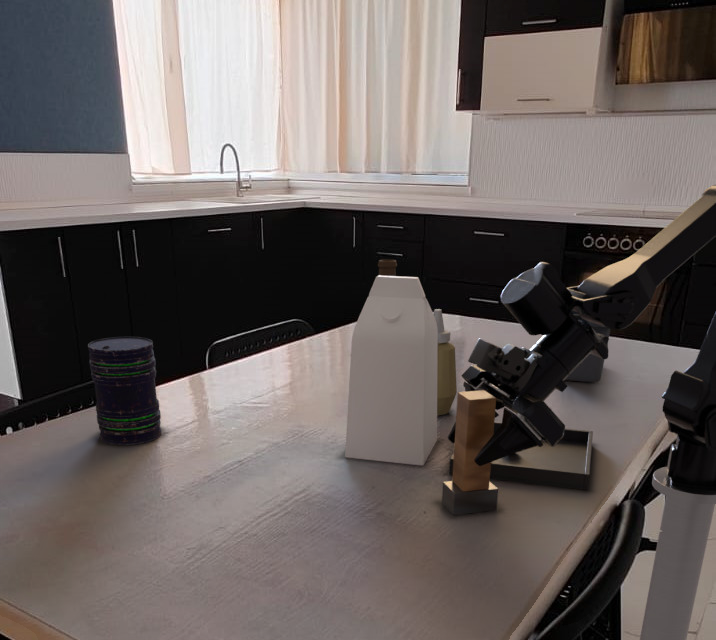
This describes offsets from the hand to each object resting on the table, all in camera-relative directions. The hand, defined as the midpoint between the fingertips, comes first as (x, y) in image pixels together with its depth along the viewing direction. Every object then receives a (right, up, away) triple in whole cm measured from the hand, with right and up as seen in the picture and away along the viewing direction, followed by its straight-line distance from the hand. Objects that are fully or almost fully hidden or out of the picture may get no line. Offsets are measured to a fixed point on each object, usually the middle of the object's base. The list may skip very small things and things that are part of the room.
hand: (462, 451), depth 97 cm
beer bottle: (-8, +17, +58) cm, 61 cm away
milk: (-8, +2, +23) cm, 25 cm away
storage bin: (+33, +21, +67) cm, 78 cm away
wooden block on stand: (+1, -7, +3) cm, 8 cm away
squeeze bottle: (0, +9, +41) cm, 42 cm away
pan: (+12, 0, +20) cm, 23 cm away
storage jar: (-50, +4, +28) cm, 58 cm away
